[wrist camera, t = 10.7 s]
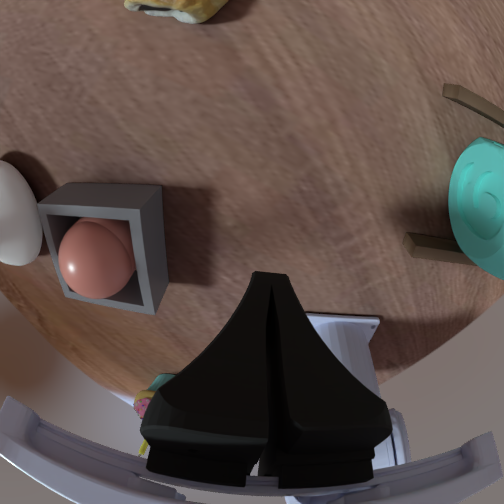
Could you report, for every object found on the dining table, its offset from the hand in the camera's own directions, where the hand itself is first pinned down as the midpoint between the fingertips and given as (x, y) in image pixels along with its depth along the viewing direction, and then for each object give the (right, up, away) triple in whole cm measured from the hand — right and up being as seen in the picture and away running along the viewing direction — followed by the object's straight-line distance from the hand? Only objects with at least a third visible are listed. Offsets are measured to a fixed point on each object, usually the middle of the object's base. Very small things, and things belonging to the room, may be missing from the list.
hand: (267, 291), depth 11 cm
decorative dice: (+18, +7, +6) cm, 20 cm away
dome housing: (-12, +3, +10) cm, 16 cm away
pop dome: (-12, +3, +10) cm, 15 cm away
